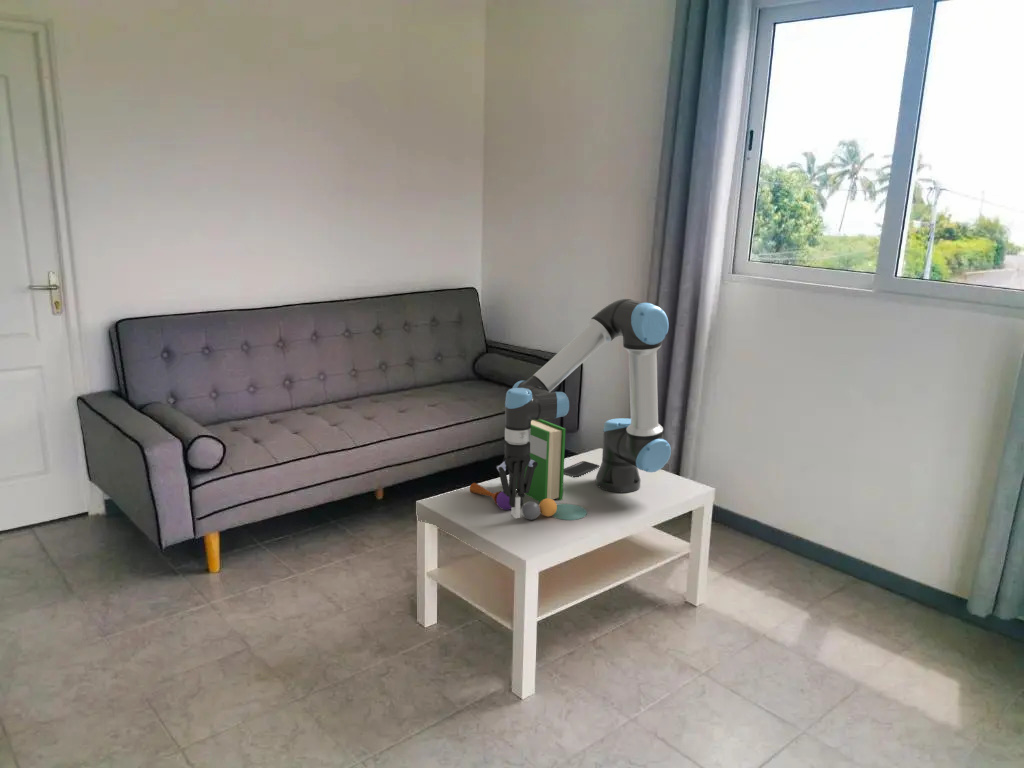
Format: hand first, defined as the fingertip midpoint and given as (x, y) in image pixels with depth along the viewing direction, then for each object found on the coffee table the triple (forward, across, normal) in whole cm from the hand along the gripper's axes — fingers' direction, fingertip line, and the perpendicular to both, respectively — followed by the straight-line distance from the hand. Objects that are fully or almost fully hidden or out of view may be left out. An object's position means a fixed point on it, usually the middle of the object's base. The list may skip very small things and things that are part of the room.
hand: (515, 516), depth 225 cm
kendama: (+2, 0, +17) cm, 17 cm away
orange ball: (-1, +11, 0) cm, 11 cm away
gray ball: (-1, +5, 0) cm, 5 cm away
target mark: (+2, +18, 0) cm, 18 cm away
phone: (+3, +42, +31) cm, 52 cm away
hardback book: (+2, +17, +18) cm, 24 cm away
